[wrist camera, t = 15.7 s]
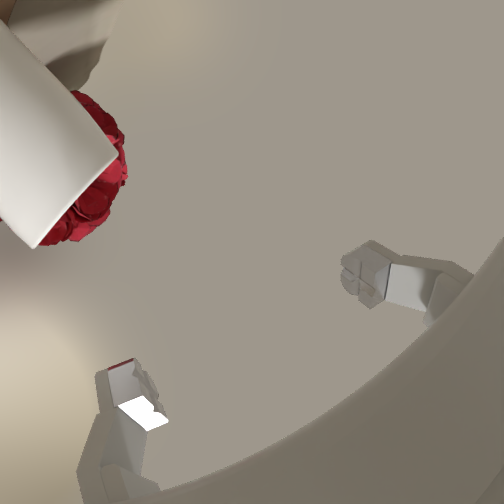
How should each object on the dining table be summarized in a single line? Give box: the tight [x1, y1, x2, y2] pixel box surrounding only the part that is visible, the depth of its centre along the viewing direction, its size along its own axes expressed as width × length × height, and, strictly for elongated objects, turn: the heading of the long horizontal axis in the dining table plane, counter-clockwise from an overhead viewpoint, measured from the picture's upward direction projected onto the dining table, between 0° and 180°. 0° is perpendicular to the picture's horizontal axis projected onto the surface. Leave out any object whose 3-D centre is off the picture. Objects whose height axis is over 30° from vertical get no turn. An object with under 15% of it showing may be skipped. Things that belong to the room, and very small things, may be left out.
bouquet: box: [0, 90, 128, 246], centre depth 33 cm, size 22×24×30 cm
